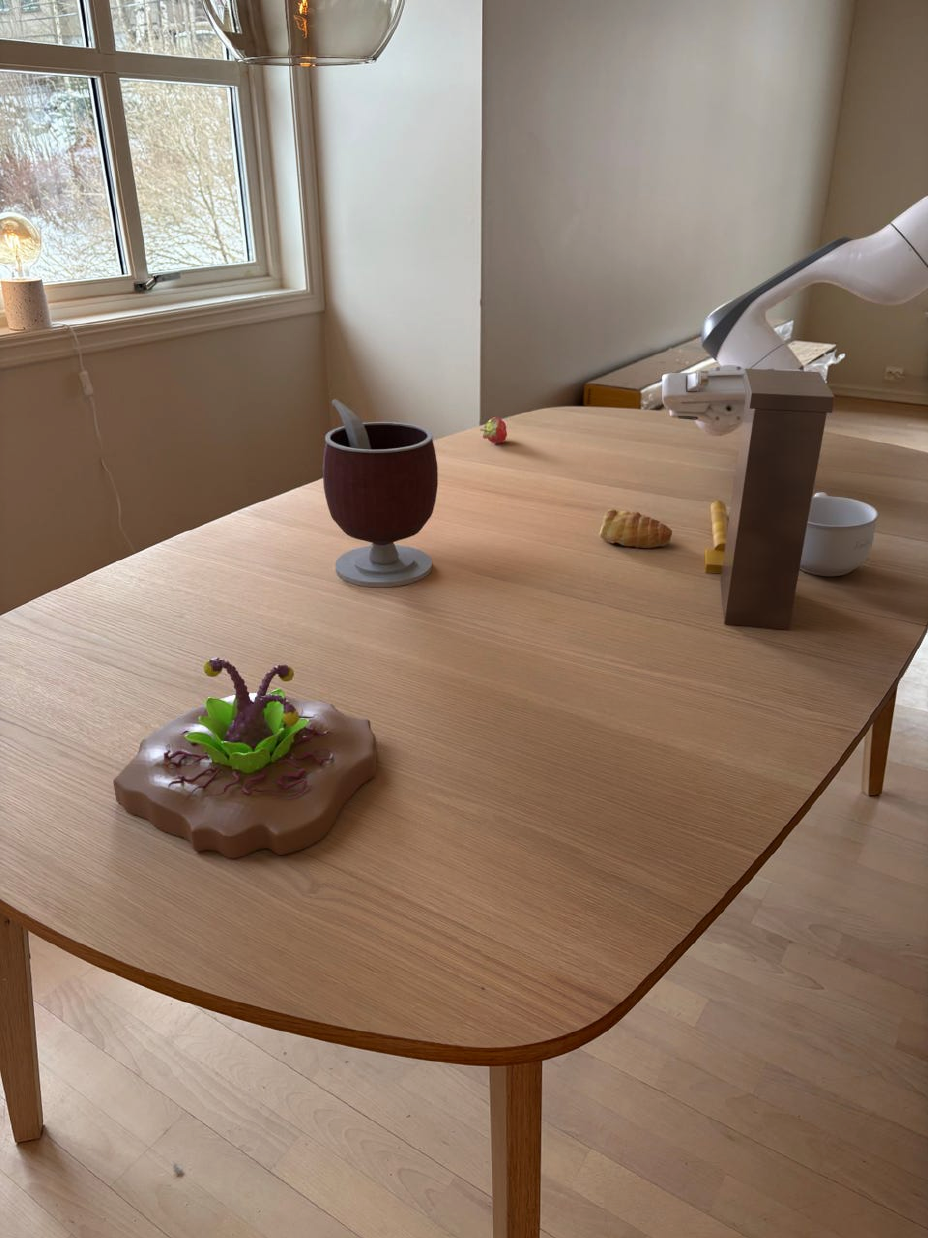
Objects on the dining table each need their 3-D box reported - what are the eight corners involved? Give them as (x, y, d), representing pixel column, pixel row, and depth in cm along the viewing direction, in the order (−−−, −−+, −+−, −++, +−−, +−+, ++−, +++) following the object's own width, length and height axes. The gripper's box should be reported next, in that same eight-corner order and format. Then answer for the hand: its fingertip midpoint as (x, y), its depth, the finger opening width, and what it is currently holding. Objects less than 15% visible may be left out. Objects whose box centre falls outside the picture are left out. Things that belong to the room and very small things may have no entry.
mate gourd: (461, 567, 121) (461, 411, 112) (376, 600, 112) (369, 433, 103) (382, 535, 131) (377, 390, 122) (299, 563, 122) (287, 408, 113)
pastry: (674, 536, 131) (677, 510, 129) (665, 554, 125) (668, 527, 124) (607, 527, 134) (609, 501, 132) (595, 544, 128) (597, 518, 127)
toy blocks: (732, 515, 138) (734, 501, 137) (741, 575, 119) (743, 559, 118) (701, 513, 139) (703, 499, 138) (705, 572, 120) (707, 556, 119)
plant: (225, 697, 92) (212, 592, 87) (406, 740, 86) (403, 630, 81) (77, 817, 76) (50, 696, 71) (287, 882, 69) (274, 754, 64)
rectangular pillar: (783, 586, 116) (819, 371, 105) (793, 630, 106) (835, 396, 94) (716, 581, 118) (744, 368, 106) (719, 624, 107) (751, 392, 95)
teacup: (866, 590, 115) (879, 528, 112) (773, 577, 119) (783, 516, 115) (865, 549, 127) (877, 492, 124) (781, 538, 130) (790, 482, 127)
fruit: (516, 440, 173) (517, 413, 171) (495, 447, 169) (496, 420, 167) (498, 436, 176) (498, 409, 173) (477, 443, 172) (477, 416, 169)
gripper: (797, 414, 145) (815, 395, 131) (660, 418, 148) (663, 400, 134) (797, 372, 144) (815, 349, 131) (660, 377, 148) (664, 355, 134)
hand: (737, 375), depth 133 cm, fingers open, 8 cm apart
